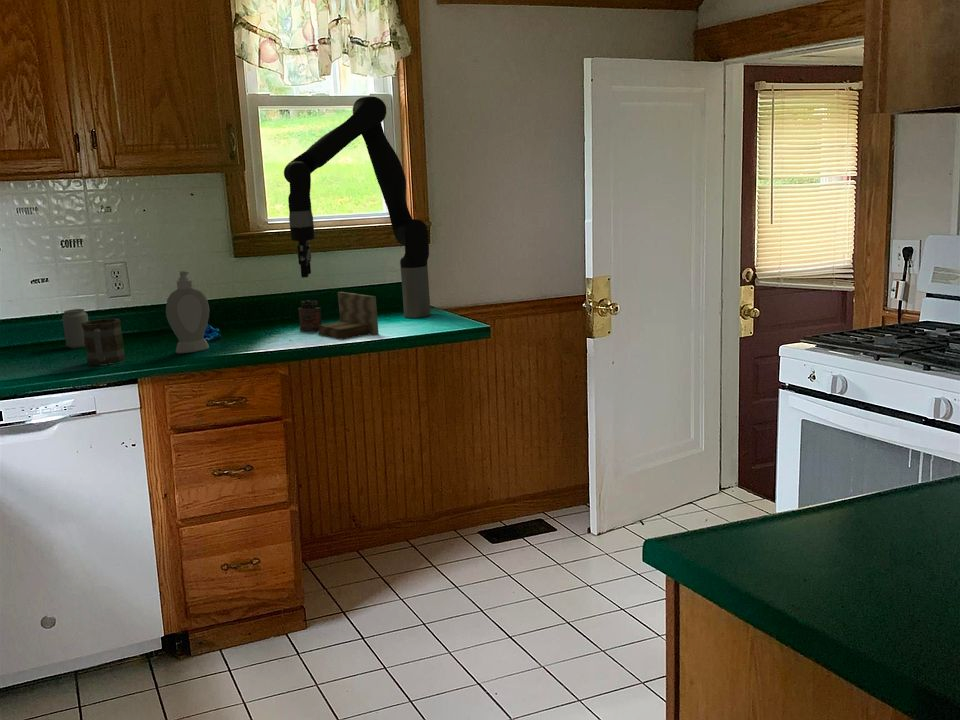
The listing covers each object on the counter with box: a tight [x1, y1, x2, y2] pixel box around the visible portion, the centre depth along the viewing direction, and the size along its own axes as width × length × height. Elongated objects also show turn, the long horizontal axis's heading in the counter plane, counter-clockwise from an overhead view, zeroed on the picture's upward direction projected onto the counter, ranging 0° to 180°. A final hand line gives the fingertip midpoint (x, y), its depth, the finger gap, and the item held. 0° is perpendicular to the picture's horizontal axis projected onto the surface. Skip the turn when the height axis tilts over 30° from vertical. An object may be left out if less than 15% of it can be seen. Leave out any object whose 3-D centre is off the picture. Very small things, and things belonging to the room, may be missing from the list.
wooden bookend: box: [317, 291, 380, 340], centre depth 295 cm, size 20×12×12 cm, turn 40°
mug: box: [81, 318, 127, 366], centre depth 268 cm, size 16×11×12 cm
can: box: [61, 308, 89, 350], centre depth 298 cm, size 8×8×12 cm
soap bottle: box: [165, 269, 210, 354], centre depth 278 cm, size 13×8×24 cm, turn 123°
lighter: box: [297, 299, 323, 333], centre depth 305 cm, size 8×3×10 cm, turn 68°
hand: (306, 275), depth 302 cm, fingers open, 8 cm apart
